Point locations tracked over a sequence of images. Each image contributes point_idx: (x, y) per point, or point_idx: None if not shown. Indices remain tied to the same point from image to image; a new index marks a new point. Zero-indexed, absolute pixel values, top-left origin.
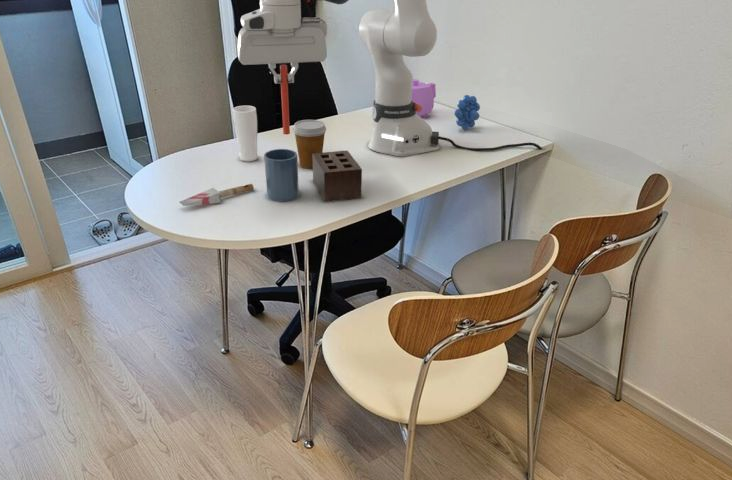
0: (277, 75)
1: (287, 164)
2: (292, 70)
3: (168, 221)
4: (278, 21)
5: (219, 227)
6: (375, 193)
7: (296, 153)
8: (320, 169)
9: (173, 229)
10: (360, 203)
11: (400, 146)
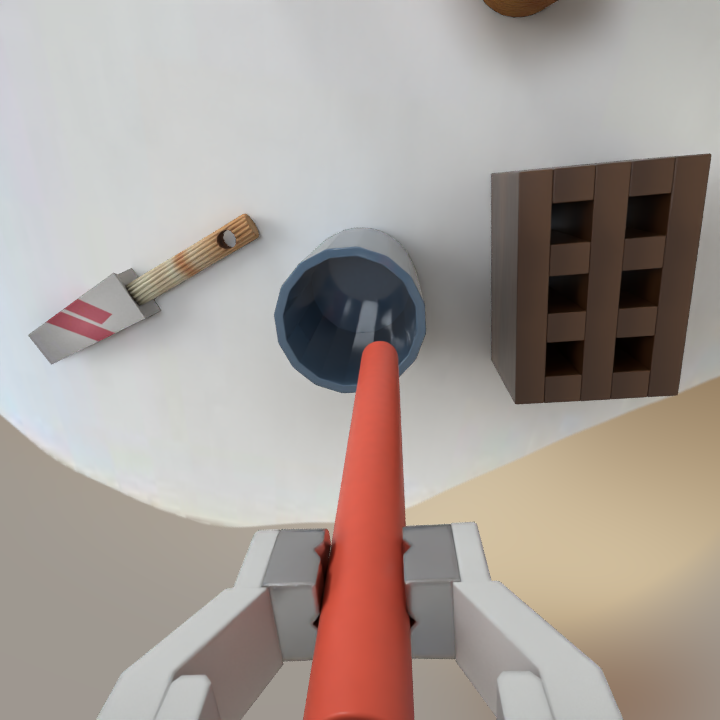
0: (279, 668)
1: None
2: (493, 677)
3: (36, 404)
4: None
5: (179, 458)
6: None
7: (424, 321)
8: (513, 338)
9: (63, 448)
10: None
11: None
